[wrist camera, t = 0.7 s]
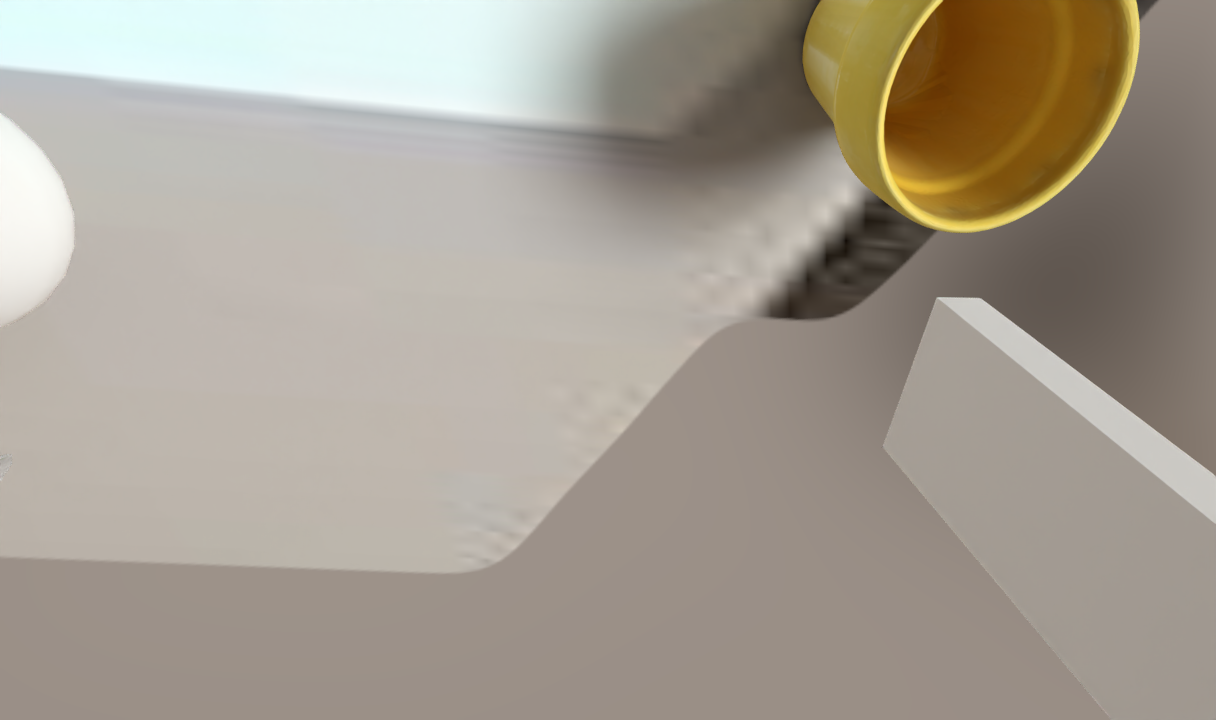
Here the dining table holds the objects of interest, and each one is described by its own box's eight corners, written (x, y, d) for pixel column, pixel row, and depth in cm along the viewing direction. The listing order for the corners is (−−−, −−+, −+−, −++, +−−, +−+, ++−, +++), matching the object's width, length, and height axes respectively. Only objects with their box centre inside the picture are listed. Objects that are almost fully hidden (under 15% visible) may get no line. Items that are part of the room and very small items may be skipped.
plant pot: (957, 142, 41) (1102, 214, 33) (758, 172, 39) (859, 255, 31) (996, -98, 36) (1181, -83, 28) (767, -77, 34) (892, -54, 26)
